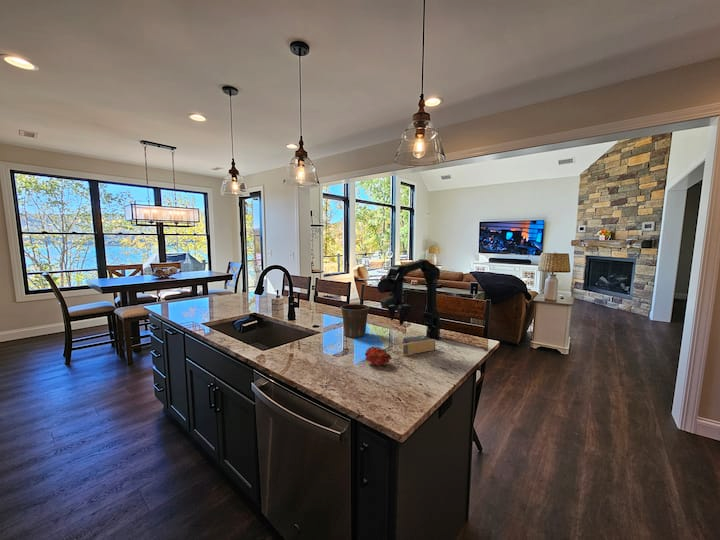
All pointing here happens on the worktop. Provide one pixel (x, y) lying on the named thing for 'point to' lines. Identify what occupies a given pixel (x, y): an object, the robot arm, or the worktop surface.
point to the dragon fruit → (377, 356)
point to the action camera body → (415, 339)
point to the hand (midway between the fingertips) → (396, 322)
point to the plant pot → (354, 319)
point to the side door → (418, 347)
